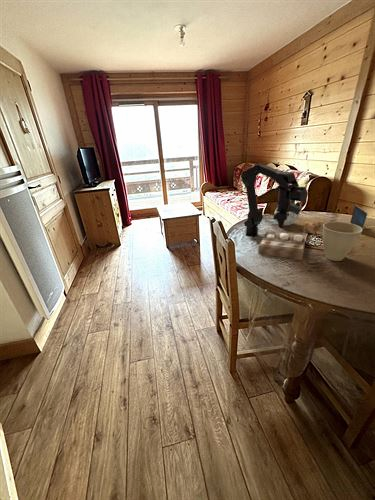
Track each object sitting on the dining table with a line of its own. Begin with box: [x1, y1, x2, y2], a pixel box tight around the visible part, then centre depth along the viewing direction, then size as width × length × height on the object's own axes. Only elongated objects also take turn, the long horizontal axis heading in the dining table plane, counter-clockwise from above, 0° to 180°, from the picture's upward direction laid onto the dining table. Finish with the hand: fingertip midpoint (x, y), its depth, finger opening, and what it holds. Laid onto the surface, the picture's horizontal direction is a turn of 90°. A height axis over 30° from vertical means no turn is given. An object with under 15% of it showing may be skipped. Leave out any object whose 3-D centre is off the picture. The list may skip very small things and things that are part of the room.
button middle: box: [280, 232, 289, 240], centre depth 118 cm, size 4×4×4 cm
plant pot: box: [322, 221, 363, 262], centre depth 101 cm, size 15×15×16 cm
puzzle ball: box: [274, 206, 300, 227], centre depth 145 cm, size 15×15×15 cm
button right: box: [293, 234, 303, 242], centre depth 115 cm, size 4×4×4 cm
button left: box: [266, 234, 275, 239], centre depth 122 cm, size 4×4×4 cm
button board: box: [257, 230, 307, 261], centre depth 117 cm, size 21×22×5 cm
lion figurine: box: [298, 220, 325, 237], centre depth 130 cm, size 15×5×9 cm, turn 35°
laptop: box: [349, 204, 368, 234], centre depth 132 cm, size 18×12×13 cm
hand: (281, 227), depth 116 cm, fingers closed
